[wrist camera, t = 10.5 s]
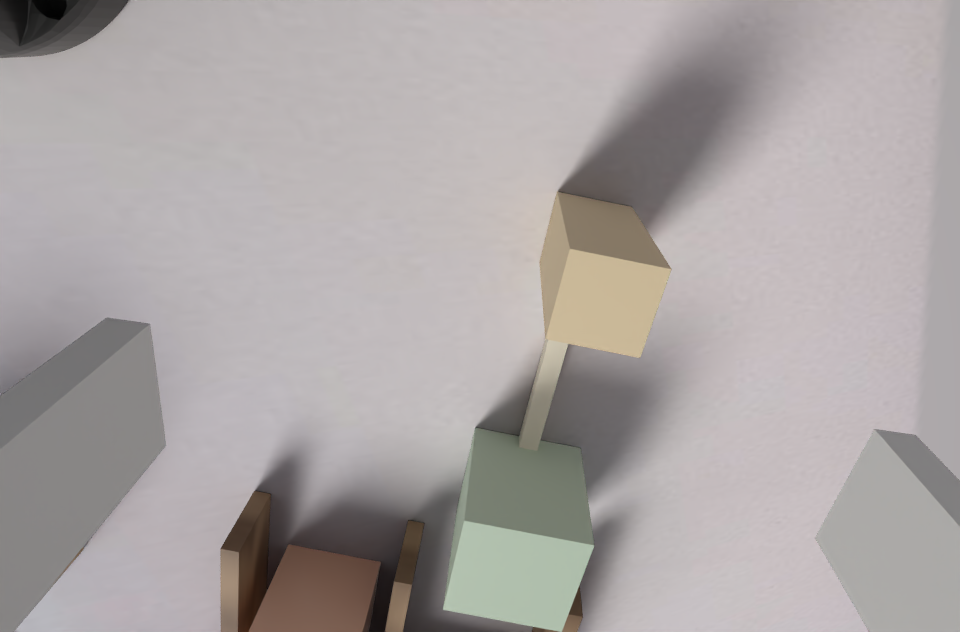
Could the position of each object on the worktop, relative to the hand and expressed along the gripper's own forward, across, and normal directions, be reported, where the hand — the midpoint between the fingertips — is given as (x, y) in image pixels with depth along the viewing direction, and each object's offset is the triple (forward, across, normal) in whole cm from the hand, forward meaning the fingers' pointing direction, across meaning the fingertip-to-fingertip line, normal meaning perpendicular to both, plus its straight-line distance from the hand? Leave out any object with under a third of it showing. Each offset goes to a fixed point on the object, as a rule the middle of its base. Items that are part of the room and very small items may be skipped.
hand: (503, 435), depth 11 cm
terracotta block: (+18, -8, -28) cm, 34 cm away
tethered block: (+18, +3, -10) cm, 21 cm away
